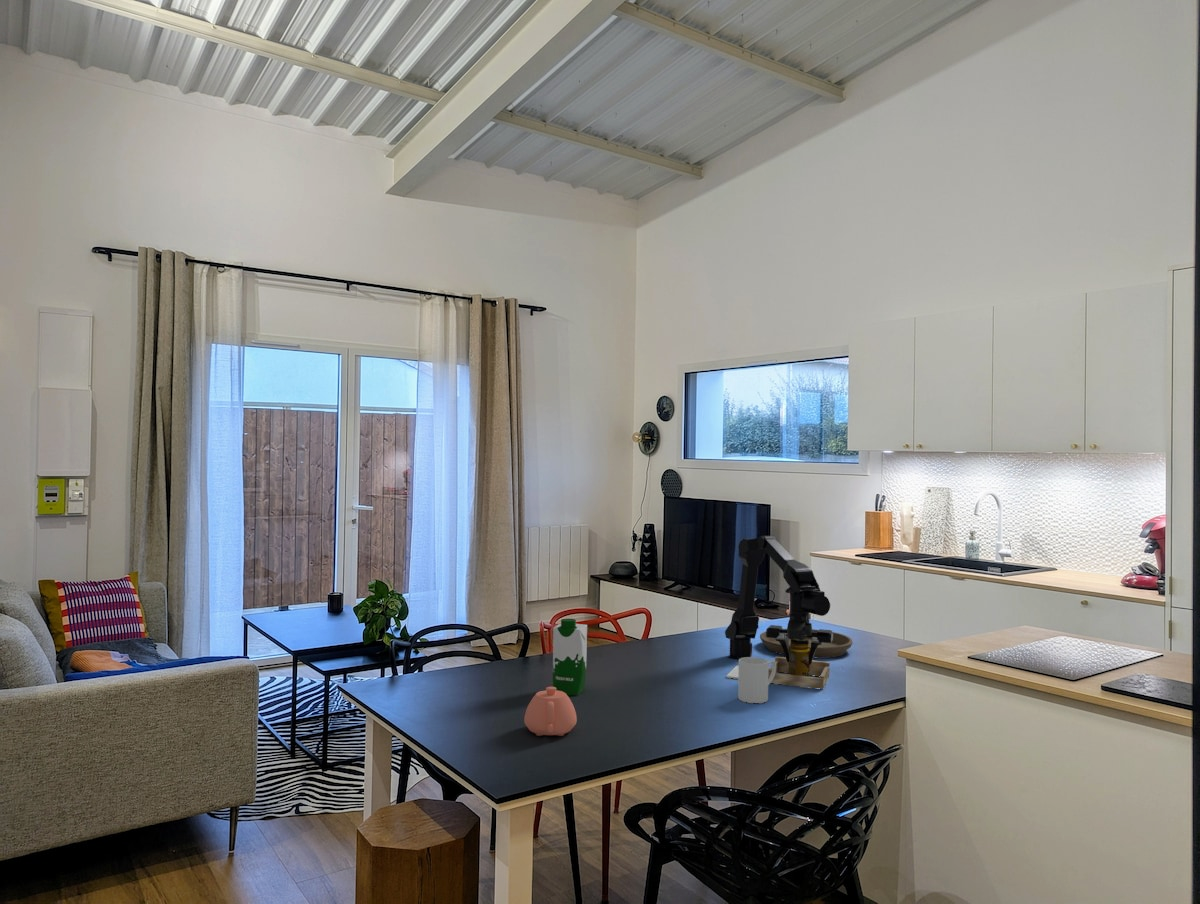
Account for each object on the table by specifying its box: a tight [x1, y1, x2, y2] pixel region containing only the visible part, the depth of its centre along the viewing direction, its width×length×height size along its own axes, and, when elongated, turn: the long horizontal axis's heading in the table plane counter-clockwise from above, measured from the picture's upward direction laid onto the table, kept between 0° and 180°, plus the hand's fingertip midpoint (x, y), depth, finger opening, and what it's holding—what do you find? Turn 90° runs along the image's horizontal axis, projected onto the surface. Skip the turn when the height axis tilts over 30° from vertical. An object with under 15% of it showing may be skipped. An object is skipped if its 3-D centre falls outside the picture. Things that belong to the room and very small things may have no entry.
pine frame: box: [768, 656, 831, 690], centre depth 240 cm, size 16×15×4 cm
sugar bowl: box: [523, 686, 578, 737], centre depth 190 cm, size 12×14×10 cm
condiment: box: [789, 639, 811, 677], centre depth 240 cm, size 7×8×12 cm
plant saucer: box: [759, 628, 854, 658], centre depth 281 cm, size 31×31×5 cm
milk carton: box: [552, 618, 588, 697], centre depth 224 cm, size 9×9×20 cm
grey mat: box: [725, 665, 739, 680], centre depth 246 cm, size 10×14×1 cm
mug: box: [737, 656, 776, 704], centre depth 220 cm, size 12×8×10 cm, turn 125°
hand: (799, 663), depth 240 cm, fingers closed on condiment, 6 cm apart
